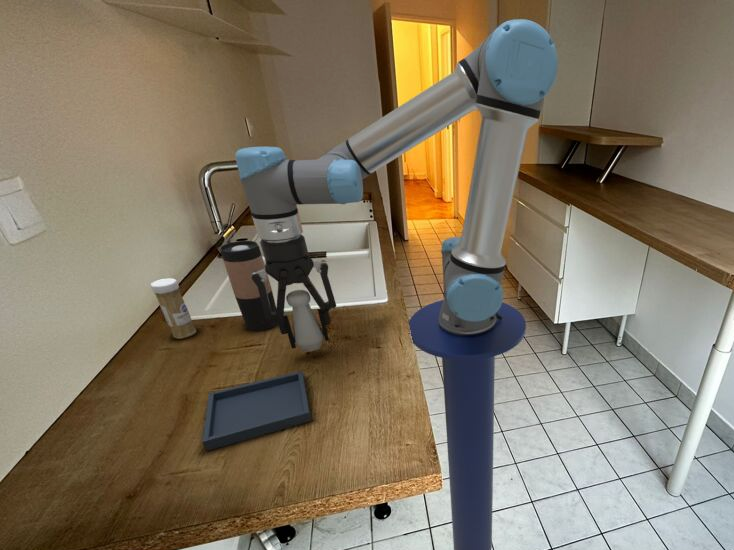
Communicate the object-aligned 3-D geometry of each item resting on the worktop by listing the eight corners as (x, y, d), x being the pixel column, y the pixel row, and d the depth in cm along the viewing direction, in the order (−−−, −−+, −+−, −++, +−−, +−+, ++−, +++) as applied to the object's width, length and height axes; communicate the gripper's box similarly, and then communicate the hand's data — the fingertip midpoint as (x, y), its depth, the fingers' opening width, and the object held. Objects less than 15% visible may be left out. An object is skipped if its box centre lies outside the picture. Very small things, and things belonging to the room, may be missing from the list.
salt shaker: (300, 340, 91) (285, 287, 85) (328, 338, 92) (315, 285, 86) (294, 355, 86) (277, 299, 80) (323, 352, 87) (308, 297, 81)
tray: (304, 379, 83) (302, 370, 82) (311, 421, 73) (309, 412, 72) (212, 401, 76) (208, 392, 75) (206, 451, 66) (202, 441, 65)
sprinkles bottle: (194, 337, 95) (172, 284, 88) (170, 340, 94) (146, 287, 87) (199, 328, 99) (178, 276, 92) (176, 331, 97) (153, 278, 90)
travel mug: (238, 330, 99) (210, 250, 89) (258, 315, 105) (235, 239, 95) (268, 332, 98) (243, 252, 88) (287, 317, 104) (266, 241, 95)
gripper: (221, 250, 70) (260, 361, 82) (338, 235, 78) (358, 338, 90) (223, 238, 76) (260, 343, 87) (332, 225, 84) (352, 323, 95)
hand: (310, 341), depth 88 cm, fingers closed on salt shaker, 6 cm apart
